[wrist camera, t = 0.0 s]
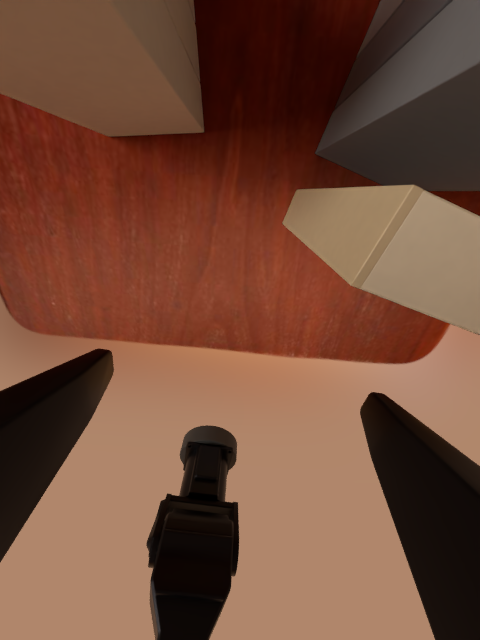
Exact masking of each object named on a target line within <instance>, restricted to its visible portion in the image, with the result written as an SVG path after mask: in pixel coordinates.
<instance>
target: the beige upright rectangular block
mask: <svg viewBox="0 0 480 640" xmlns="http://www.w3.org/2000/svg"><path fill="white" fill-rule="evenodd" d="M199 82H200V72H199V60H198V47H197V35H196V26H195V10H194V0H0V93H1V94H3V95H6V96H8V97H11V98H13V99H16V100H18V101H21V102H23V103H26V104H28V105H31V106H33V107H36V108H38V109H41V110H43V111H46V112H48V113H51V114H53V115H56V116H58V117H61V118H63V119H66V120H69V121H71V122H74V123H76V124H79V125H81V126H84V127H86V128H89V129H91V130H94V131H96V132H99V133H101V134H104V135H106V136H109V137H111V136H134V135H157V134H180V133H203V132H204V122H203V109H202V97H201V85H200V83H199Z"/></svg>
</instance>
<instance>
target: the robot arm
mask: <svg viewBox="0 0 480 640" xmlns="http://www.w3.org/2000/svg"><path fill="white" fill-rule="evenodd" d="M113 371H114V368H113V356H112V352H111V351H110V350H105V349H95V350H93V351H91V352H89V353H86V354H84V355H82V356H79V357H77V358H75V359H73V360H70V361H68V362H66V363H63V364H61V365H59V366H56V367H54V368H52V369H50V370H47V371H45V372H43V373H40V374H38V375H36V376H34V377H31V378H29V379H27V380H24V381H22V382H20V383H18V384H15V385H13V386H11V387H9V388H6V389H4V390H2V391H0V562H1V560H2V559H3V557H4V556H5V554H6V553H7V551H8V549H9V548H10V546H11V545H12V543H13V542H14V540H15V538H16V537H17V535H18V533H19V532H20V530H21V529H22V527H23V526H24V524H25V523H26V521H27V519H28V518H29V516H30V514H31V513H32V511H33V510H34V508H35V507H36V505H37V504H38V502H39V501H40V499H41V497H42V496H43V494H44V493H45V491H46V489H47V488H48V486H49V485H50V483H51V482H52V480H53V478H54V477H55V475H56V474H57V472H58V470H59V469H60V467H61V466H62V464H63V463H64V461H65V459H66V458H67V456H68V455H69V453H70V452H71V450H72V448H73V447H74V445H75V444H76V442H77V441H78V439H79V437H80V436H81V434H82V433H83V431H84V429H85V428H86V426H87V425H88V423H89V421H90V420H91V418H92V416H93V414H94V412H95V410H96V408H97V406H98V404H99V402H100V400H101V398H102V396H103V394H104V392H105V390H106V388H107V386H108V384H109V382H110V380H111V378H112V375H113ZM360 415H361V419H362V423H363V427H364V431H365V435H366V439H367V443H368V447H369V451H370V455H371V458H372V461H373V464H374V467H375V470H376V473H377V476H378V479H379V481H380V484H381V487H382V490H383V493H384V496H385V498H386V501H387V504H388V507H389V509H390V513H391V515H392V518H393V521H394V524H395V527H396V530H397V533H398V535H399V538H400V541H401V544H402V547H403V549H404V552H405V555H406V558H407V561H408V563H409V566H410V569H411V572H412V575H413V578H414V581H415V584H416V586H417V589H418V592H419V595H420V598H421V601H422V603H423V606H424V609H425V612H426V615H427V618H428V620H429V623H430V626H431V629H432V632H433V635H434V638H435V640H480V466H479V465H477V464H476V463H475V462H473V461H472V460H471V459H469V458H468V457H467V456H465V455H464V454H463V453H461V452H460V451H459V450H457V449H456V448H455V447H453V446H452V445H451V444H449V443H448V442H447V441H445V440H444V439H443V438H442V437H440V436H439V435H438V434H436V433H435V432H434V431H432V430H431V429H429V428H428V427H427V426H425V425H424V424H423V423H422V422H420V421H419V420H418V419H416V418H415V417H414V416H412V415H411V414H410V413H408V412H407V411H406V410H404V409H403V408H402V407H401V406H399V405H398V404H396V403H395V402H394V401H393V400H391V399H390V398H389V397H387V396H386V395H384V394H382V393H375V392H372V393H370V394H369V395H368V397H367V399H366V400H365V402H364V403H363V405H362V407H361V411H360ZM233 451H234V449H233V448H232V447H227V446H220V445H213V444H205V443H198V442H191V441H189V442H187V445H186V452H185V460H184V469H183V470H184V471H185V473H184V477H183V481H182V486H181V491H180V495H179V496H175V495H171V494H167V496H166V499H165V500H162V501H161V503H160V506H159V510H158V513H157V517H156V520H155V522H154V525H153V527H152V530H151V532H150V535H149V538H148V541H147V548H148V550H149V557H150V558H149V564H148V567H151V568H153V572H152V576H151V586H150V607H151V614H152V620H153V627H154V633H155V640H209V638H210V636H211V634H212V632H213V630H214V627H215V625H216V623H217V621H218V618H219V616H220V614H221V612H222V609H223V607H224V604H225V602H226V599H227V597H228V594H229V592H230V588H231V576H235V574H236V570H237V563H238V553H239V552H238V551H239V525H238V503H237V502H233V503H231V502H225V492H226V479H227V474H228V470H229V467H230V463H231V460H232V456H233Z"/></svg>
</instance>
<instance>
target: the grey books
mask: <svg viewBox="0 0 480 640" xmlns="http://www.w3.org/2000/svg"><path fill="white" fill-rule="evenodd" d="M356 58H357V59H356V61H355V62H354V64H353V66H352V69H351V71H350V73H349V76H348V78H347V80H346V83H345V85H344V87H343V90H342V92H341V94H340V97H339V99H338V101H337V104H336V106H335V110H334V111H333V113H332V115H331V117H330V120H329V122H328V124H327V127H326V129H325V131H324V134H323V136H322V138H321V141H320V143H319V145H318V148H317V150H316V152H315V154H316V155H319V156H321V157H323V158H325V159H327V160H329V161H331V162H334V163H336V164H338V165H340V166H342V167H344V168H347V169H349V170H351V171H353V172H355V173H357V174H359V175H362V176H364V177H366V178H368V179H370V180H372V181H374V182H377V183H379V184H381V185H383V186H394V185H416V186H418V187H420V188H422V189H423V190H426V191H480V0H381V1H380V3H379V6H378V8H377V10H376V13H375V15H374V17H373V20H372V22H371V24H370V27H369V29H368V31H367V33H366V36H365V38H364V40H363V43H362V45H361V47H360V50H359V52H358V54H357V57H356Z"/></svg>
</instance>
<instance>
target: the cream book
mask: <svg viewBox="0 0 480 640" xmlns="http://www.w3.org/2000/svg"><path fill="white" fill-rule="evenodd" d="M282 224H283V225H284V226H285V227H287V228H288V229H289V230H290V231H291V232H292V233H293V234H294V235H295V236H297V237H298V238H299V239H300V240H301V241H302V242H303V243H304V244H305V245H307V246H308V247H309V248H310V249H311V250H312V251H313V252H314V253H315V254H316V255H318V256H319V257H320V258H321V259H322V260H323V261H324V262H325V263H326V264H328V265H329V266H330V267H331V268H332V269H333V270H334V271H335V272H336V273H338V274H339V275H340V276H341V277H342V278H343V279H344V280H345V281H346V282H347V283H349V284H350V285H351V286H353V287H356V288H358V289H361V290H364V291H367V292H369V293H372V294H374V295H377V296H380V297H382V298H385V299H387V300H390V301H392V302H395V303H398V304H400V305H403V306H405V307H408V308H411V309H413V310H416V311H418V312H421V313H423V314H426V315H429V316H431V317H434V318H436V319H439V320H442V321H444V322H447V323H449V324H452V325H454V326H457V327H460V328H462V329H465V330H467V331H470V332H473V333H475V334H478V335H480V216H478V215H476V214H474V213H472V212H470V211H468V210H466V209H464V208H461V207H459V206H457V205H455V204H453V203H451V202H449V201H447V200H445V199H442V198H440V197H438V196H436V195H434V194H432V193H430V192H428V191H426V190H423V189H422V188H420V187H418V186H416V185H394V186H370V187H346V188H323V189H299V190H296V192H295V195H294V197H293V199H292V202H291V204H290V206H289V209H288V211H287V213H286V216H285V218H284V220H283V223H282Z"/></svg>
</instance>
